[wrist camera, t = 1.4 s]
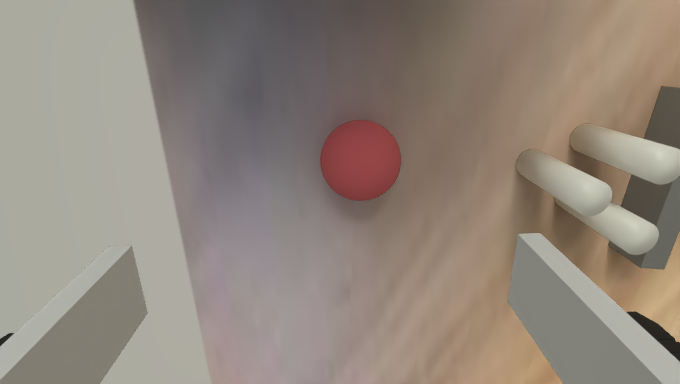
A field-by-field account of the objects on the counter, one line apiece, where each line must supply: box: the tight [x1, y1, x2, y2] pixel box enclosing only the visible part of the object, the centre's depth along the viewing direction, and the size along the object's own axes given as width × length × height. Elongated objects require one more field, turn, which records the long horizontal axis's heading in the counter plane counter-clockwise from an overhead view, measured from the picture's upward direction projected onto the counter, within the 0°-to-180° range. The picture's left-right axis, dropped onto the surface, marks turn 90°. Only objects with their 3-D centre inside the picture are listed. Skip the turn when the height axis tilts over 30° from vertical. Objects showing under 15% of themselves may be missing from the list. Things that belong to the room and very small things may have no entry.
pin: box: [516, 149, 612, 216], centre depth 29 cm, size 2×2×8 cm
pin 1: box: [570, 124, 680, 185], centre depth 29 cm, size 2×2×8 cm
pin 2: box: [555, 197, 659, 255], centre depth 30 cm, size 2×2×8 cm
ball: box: [320, 120, 401, 201], centre depth 30 cm, size 6×6×6 cm
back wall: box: [609, 86, 680, 269], centre depth 32 cm, size 14×2×4 cm, turn 176°
